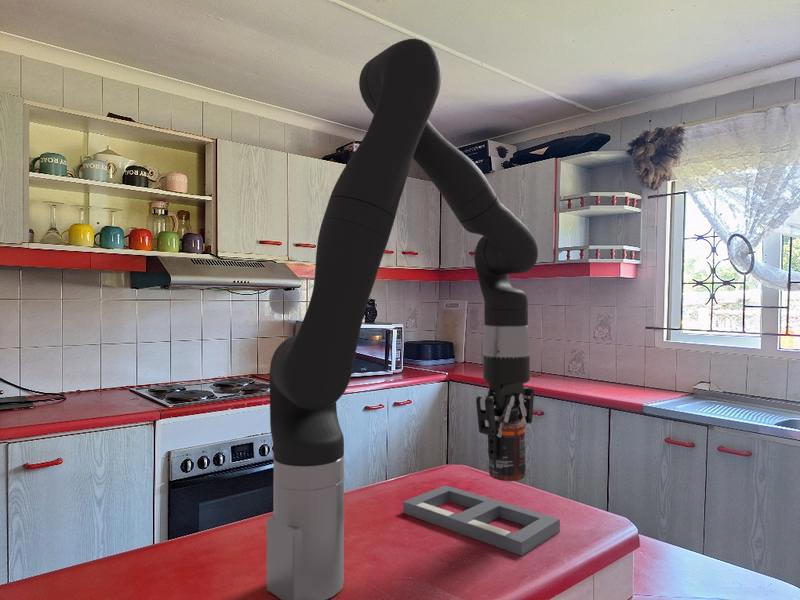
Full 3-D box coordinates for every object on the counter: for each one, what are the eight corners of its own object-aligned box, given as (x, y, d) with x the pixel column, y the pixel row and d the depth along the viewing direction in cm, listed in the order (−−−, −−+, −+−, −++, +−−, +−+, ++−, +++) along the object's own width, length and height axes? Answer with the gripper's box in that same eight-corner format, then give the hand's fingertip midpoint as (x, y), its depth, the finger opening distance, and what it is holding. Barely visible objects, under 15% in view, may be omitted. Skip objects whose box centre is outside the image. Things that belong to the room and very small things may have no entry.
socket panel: (521, 555, 82) (521, 541, 82) (403, 512, 98) (403, 501, 98) (559, 531, 91) (559, 518, 91) (445, 495, 107) (445, 484, 107)
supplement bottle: (523, 471, 93) (523, 404, 93) (527, 483, 87) (527, 411, 87) (487, 470, 94) (487, 404, 94) (489, 482, 88) (489, 411, 88)
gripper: (501, 358, 83) (502, 470, 83) (548, 351, 93) (549, 450, 93) (461, 354, 88) (461, 460, 88) (510, 348, 98) (510, 442, 98)
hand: (506, 454), depth 91 cm, fingers closed on supplement bottle, 6 cm apart
